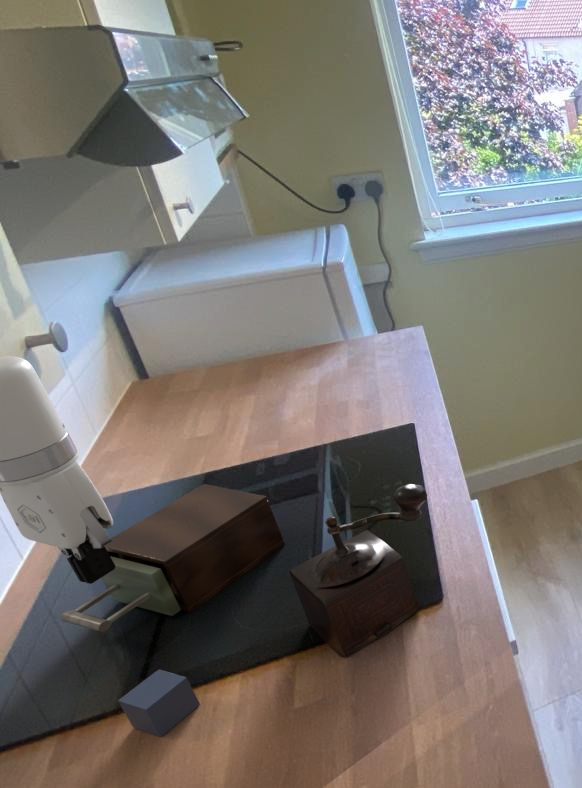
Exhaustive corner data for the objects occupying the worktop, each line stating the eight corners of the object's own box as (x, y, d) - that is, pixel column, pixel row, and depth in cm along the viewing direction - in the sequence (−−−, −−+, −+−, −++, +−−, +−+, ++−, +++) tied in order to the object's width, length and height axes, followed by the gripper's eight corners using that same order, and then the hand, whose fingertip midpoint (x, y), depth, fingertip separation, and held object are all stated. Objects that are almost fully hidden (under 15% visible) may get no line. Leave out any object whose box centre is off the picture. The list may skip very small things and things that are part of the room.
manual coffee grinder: (345, 663, 92) (302, 550, 85) (306, 624, 98) (263, 516, 91) (459, 589, 104) (430, 484, 96) (418, 559, 110) (388, 458, 102)
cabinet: (190, 613, 101) (165, 561, 97) (125, 595, 104) (98, 545, 100) (285, 544, 113) (266, 496, 110) (224, 530, 117) (203, 483, 113)
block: (161, 737, 83) (145, 709, 81) (133, 728, 85) (117, 700, 83) (200, 704, 87) (186, 677, 85) (173, 695, 88) (158, 668, 87)
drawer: (121, 652, 94) (97, 609, 91) (60, 634, 97) (35, 592, 94) (263, 550, 111) (247, 511, 108) (208, 538, 114) (190, 499, 111)
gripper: (-49, 466, 86) (25, 585, 94) (37, 484, 82) (107, 607, 90) (27, 432, 93) (91, 546, 100) (110, 448, 89) (170, 565, 96)
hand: (98, 575), depth 95 cm, fingers closed
